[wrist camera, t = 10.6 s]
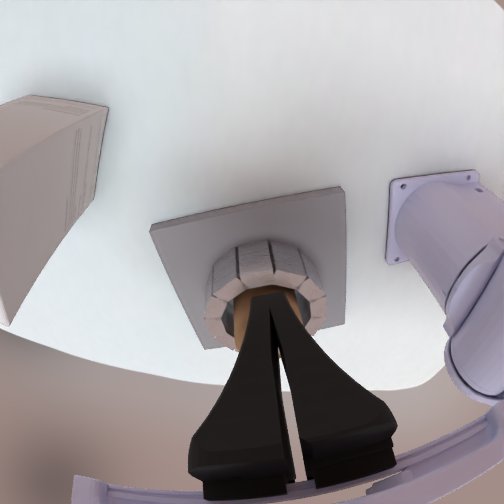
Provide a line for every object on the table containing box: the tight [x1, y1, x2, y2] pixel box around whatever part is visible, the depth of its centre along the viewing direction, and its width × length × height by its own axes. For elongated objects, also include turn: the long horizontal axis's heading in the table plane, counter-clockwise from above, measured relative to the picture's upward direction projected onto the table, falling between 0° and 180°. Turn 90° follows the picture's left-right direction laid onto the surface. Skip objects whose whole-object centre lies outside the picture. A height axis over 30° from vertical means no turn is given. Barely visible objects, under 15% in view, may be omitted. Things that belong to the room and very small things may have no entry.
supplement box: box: [0, 95, 108, 327], centre depth 12 cm, size 7×7×13 cm
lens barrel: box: [204, 239, 327, 352], centre depth 23 cm, size 9×9×4 cm
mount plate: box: [149, 187, 346, 350], centre depth 25 cm, size 14×14×1 cm
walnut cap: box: [233, 284, 303, 358], centre depth 22 cm, size 5×5×6 cm
